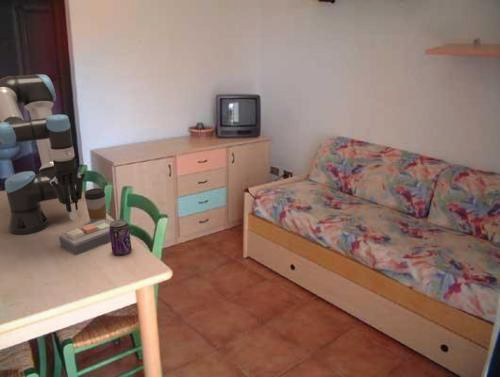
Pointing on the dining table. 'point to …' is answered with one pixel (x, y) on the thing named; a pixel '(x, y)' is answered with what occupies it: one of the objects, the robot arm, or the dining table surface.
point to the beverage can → (120, 237)
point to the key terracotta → (89, 229)
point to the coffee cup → (96, 204)
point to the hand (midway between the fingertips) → (73, 218)
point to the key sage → (103, 226)
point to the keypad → (86, 239)
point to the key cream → (75, 234)
